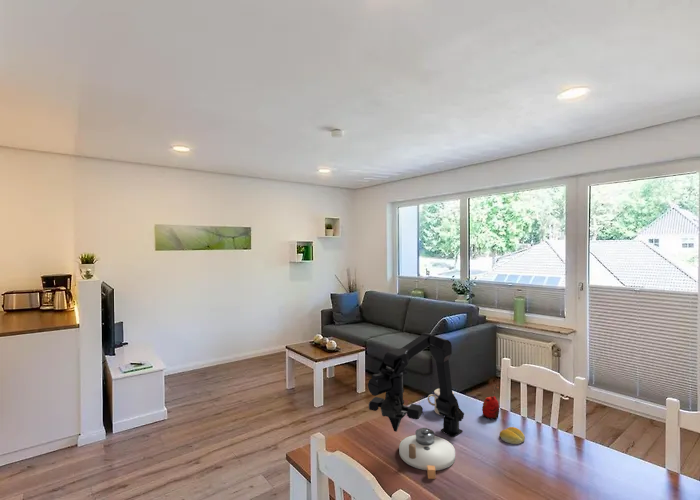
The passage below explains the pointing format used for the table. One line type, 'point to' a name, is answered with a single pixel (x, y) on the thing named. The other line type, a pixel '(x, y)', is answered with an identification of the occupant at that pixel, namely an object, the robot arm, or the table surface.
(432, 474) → the pointer block
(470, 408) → the table surface
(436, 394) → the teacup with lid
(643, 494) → the table surface
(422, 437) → the cover
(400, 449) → the turntable
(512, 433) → the bread roll
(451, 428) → the robot arm
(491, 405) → the red clay folk toy
